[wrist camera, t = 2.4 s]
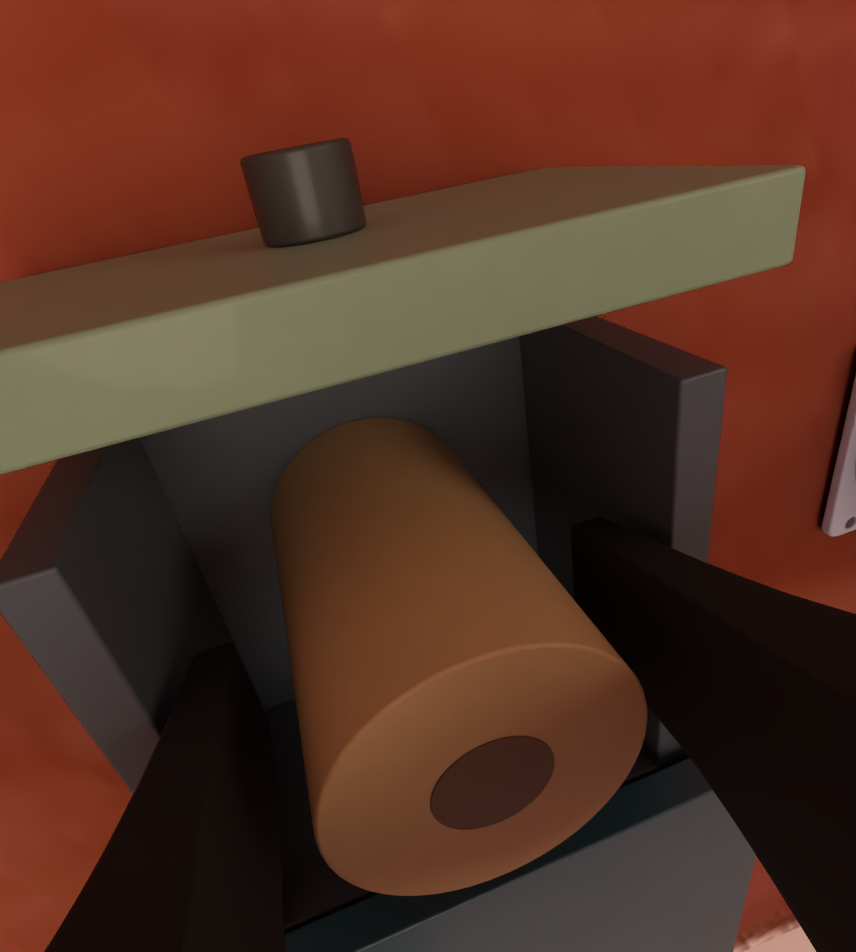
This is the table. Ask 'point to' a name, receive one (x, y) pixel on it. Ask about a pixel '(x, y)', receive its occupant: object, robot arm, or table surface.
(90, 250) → the table surface
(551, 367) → the drawer
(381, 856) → the paper roll
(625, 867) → the cabinet
